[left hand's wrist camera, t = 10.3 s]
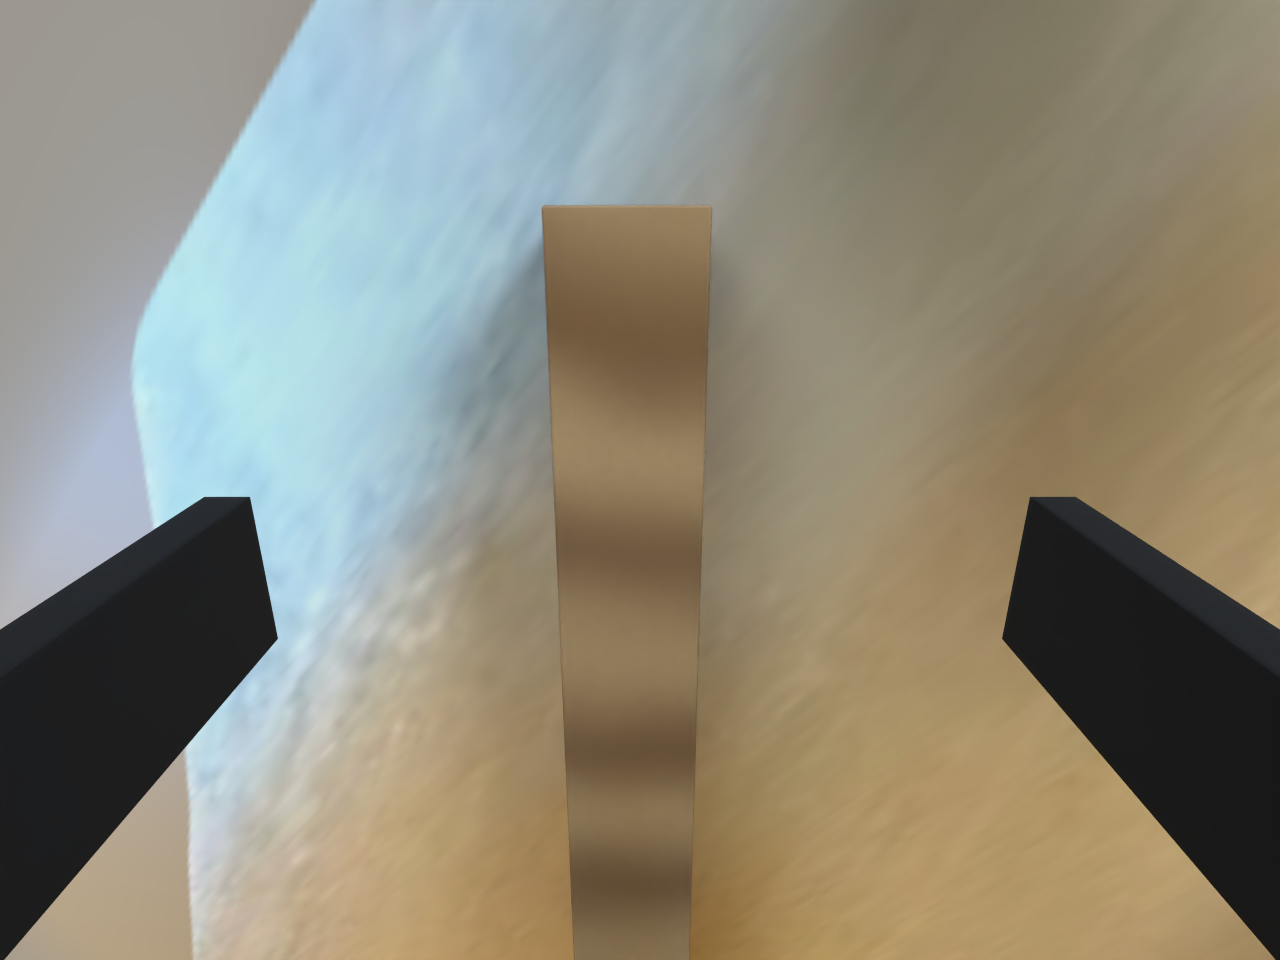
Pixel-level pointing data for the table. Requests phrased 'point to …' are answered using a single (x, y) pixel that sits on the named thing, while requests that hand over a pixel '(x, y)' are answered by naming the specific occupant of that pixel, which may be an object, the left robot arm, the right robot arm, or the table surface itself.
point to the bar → (629, 558)
